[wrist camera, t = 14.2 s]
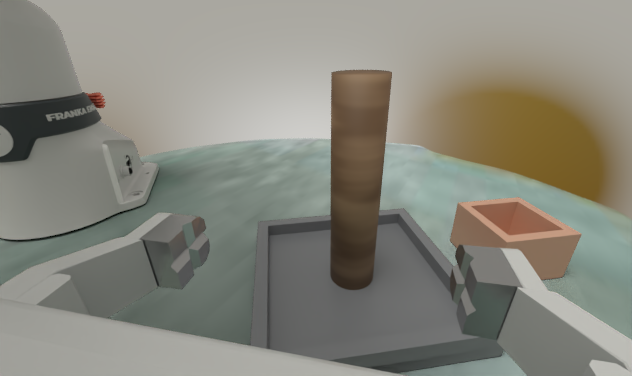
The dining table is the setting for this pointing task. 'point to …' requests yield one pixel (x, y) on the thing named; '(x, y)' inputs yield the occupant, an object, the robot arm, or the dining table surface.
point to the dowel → (356, 172)
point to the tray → (359, 299)
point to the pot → (517, 232)
